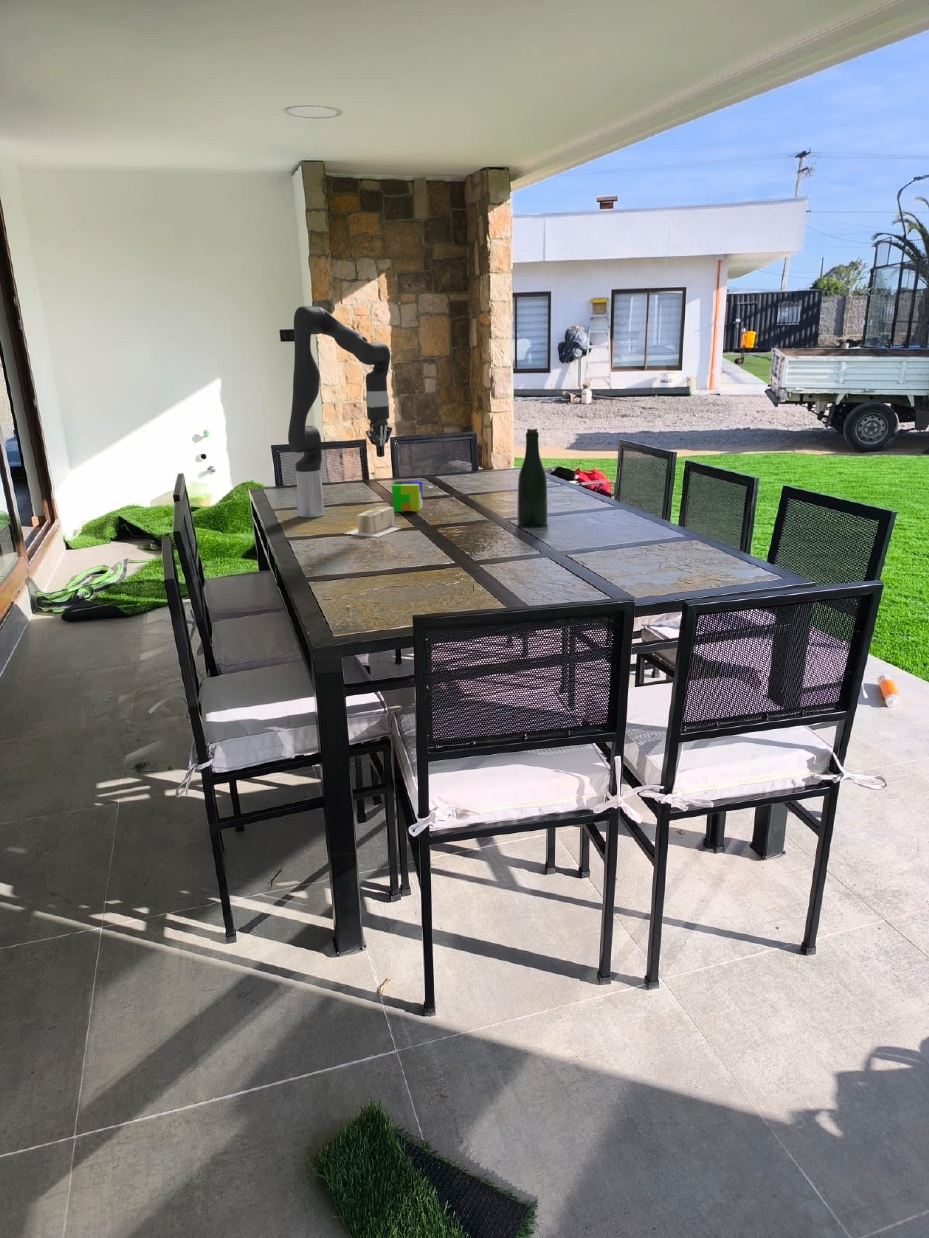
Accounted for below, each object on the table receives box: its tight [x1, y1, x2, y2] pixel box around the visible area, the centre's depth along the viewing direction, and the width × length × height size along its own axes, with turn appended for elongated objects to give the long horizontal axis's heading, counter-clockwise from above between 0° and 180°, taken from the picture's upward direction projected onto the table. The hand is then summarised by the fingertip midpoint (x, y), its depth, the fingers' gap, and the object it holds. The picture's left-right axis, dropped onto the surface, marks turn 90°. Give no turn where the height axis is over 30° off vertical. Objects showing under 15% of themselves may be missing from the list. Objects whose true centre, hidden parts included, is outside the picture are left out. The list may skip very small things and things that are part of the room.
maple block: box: [356, 505, 396, 534], centre depth 290 cm, size 6×6×14 cm
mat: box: [343, 524, 403, 538], centre depth 289 cm, size 14×15×1 cm
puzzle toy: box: [391, 480, 424, 513], centre depth 324 cm, size 10×10×10 cm
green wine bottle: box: [516, 427, 548, 528], centre depth 286 cm, size 10×10×33 cm
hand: (380, 456), depth 287 cm, fingers closed
